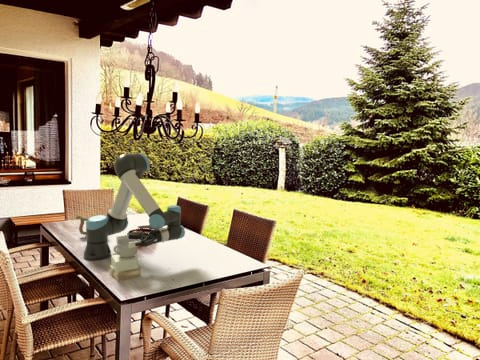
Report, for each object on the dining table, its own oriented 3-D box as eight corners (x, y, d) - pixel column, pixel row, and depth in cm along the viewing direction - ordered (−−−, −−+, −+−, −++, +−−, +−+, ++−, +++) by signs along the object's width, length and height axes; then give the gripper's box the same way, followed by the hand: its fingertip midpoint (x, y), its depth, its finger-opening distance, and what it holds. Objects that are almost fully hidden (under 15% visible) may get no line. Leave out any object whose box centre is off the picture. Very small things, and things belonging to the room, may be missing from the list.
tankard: (108, 235, 271) (108, 214, 269) (100, 240, 259) (100, 219, 257) (81, 234, 273) (81, 213, 271) (71, 238, 260) (71, 217, 259)
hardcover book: (147, 236, 274) (147, 233, 274) (137, 229, 293) (137, 226, 293) (169, 234, 282) (169, 231, 282) (157, 227, 302) (157, 224, 301)
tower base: (109, 274, 203) (109, 265, 202) (130, 269, 210) (130, 261, 210) (118, 282, 194) (118, 272, 193) (140, 276, 201) (140, 267, 201)
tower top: (111, 264, 203) (111, 255, 203) (132, 261, 209) (132, 252, 208) (115, 271, 194) (115, 262, 193) (137, 268, 199) (137, 259, 198)
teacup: (131, 251, 210) (131, 237, 209) (142, 256, 203) (142, 241, 201) (107, 257, 200) (107, 242, 199) (118, 262, 192) (118, 247, 191)
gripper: (171, 247, 205) (134, 255, 190) (147, 237, 223) (112, 243, 209) (171, 234, 204) (134, 240, 189) (147, 224, 222) (112, 229, 208)
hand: (122, 242), depth 199 cm, fingers open, 13 cm apart
